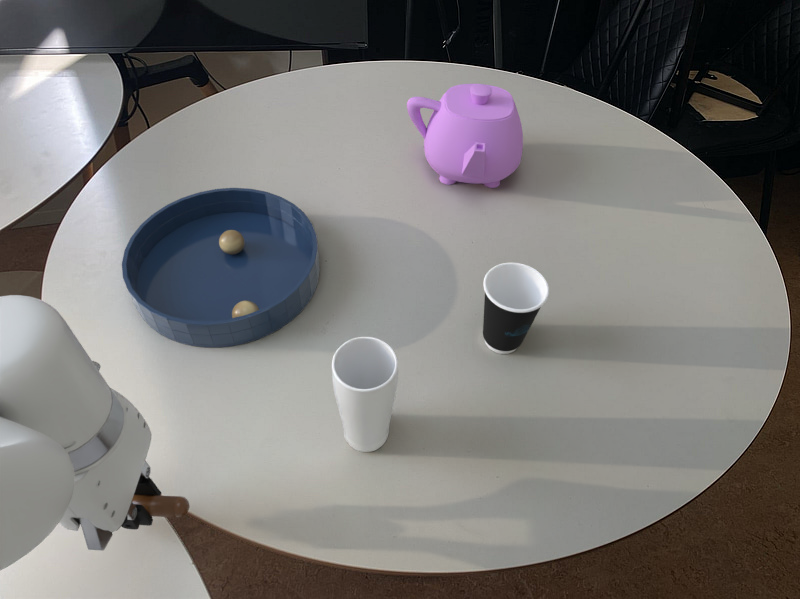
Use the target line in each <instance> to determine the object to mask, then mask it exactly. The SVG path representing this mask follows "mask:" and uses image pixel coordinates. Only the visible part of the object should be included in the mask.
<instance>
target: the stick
mask: <svg viewBox="0 0 800 599" xmlns="http://www.w3.org/2000/svg"><path fill="white" fill-rule="evenodd" d="M132 502H133V503H134V504H139V505H142V506H143V507H144V508H145V509H146V510H147V511H148V513H149V514H150V516H152V518H153V517H156V518H157V517H159V518H182V517H184V516H186V515H187V513H188V512H189V510H190V501H189V500H188V498H186V497H185V496H181V495H161V496H156V495H134V496H133V499H132Z"/></svg>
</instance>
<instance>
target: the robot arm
mask: <svg viewBox="0 0 800 599" xmlns="http://www.w3.org/2000/svg"><path fill="white" fill-rule="evenodd" d="M101 367H102V366H101V364H100V363H99V362H97V361H94V360H92V359H91V357H90V355H89V354H88V352H87V351H86V350H85V348H84V346H83V344H82V343H81V342H80V341H79V339H78V337H77V336H76V335H75V333H74V331H73V330H72V328H71V327H70V325H69V324H68V323H67V321H66V320H65V319H64V317H63V316H62V315H61V313H60V312H59V311H58V310H57V309H56V308H55V307H54V306H52V305H51V304H49V303H48V302H46V301H44V300H42V299H40V298H37V297H34V296H28V295H21V294H9V295H1V296H0V571H2V570H4V569H6V568H8V567H10V566H11V565H13V564H15V563H17V562H18V561H19V560H21V559H22V558H24V557H25V556H27V555H28V554H29V553H31V552H32V551H33V550H34V549H36V548H37V547H38V546H40V544H42V543H43V542H44V540H46V539H47V537H49V535H51V534H52V533H53V531H54V529H55V528H56V527H57V526H58V524H59V525H61V526H62V527H63V528H64V529H66V530H69V531H74V532H78V531H79V530H80V527H81V530H82V534H83V537H84V540H85V544H86V547H87V550H88V551H101V552H102V551H104V550H105V549H106V548H107V546H108V544H109V542H110V541H111V539H112V538H113V533H114V532H116V531H118V530H120V528H124V529H127V530H138V529H139V528H140V526H149V527H150V526H152V525H153V521H154V519H153V516H150V514H149V513H148V511H147V510H146V509H145V508H144V507H143V506H142V505H139V504H134V503H133V502H132V499H133V496H134V495H156V496H162V492H161V490H160V488H159V487H158V486H157V485H156V483H155V482H154V481H153V479H152V478H151V477H150V475H151V466H150V465H149V463H148V461H147V457H148V453H149V450H150V447H151V442H152V431H151V429H150V426H149V424H148V422H147V421H146V419H145V417H144V416H143V415H142V413H141V412H140V411H139V410H138V408H137V407H136V406H135V405H134V404H133V403H132V402H131V401H130V400H129V399H128V398H127V397H125V396H124V395H123V394H121V393H120V392H118V391H117V390H115V389H114V388H112V387H110V385H109V384H108V382H107V381H106V380H105V378H104V377H103V375H102V374H101V372H100V369H101Z"/></svg>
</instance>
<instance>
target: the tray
mask: <svg viewBox="0 0 800 599" xmlns="http://www.w3.org/2000/svg"><path fill="white" fill-rule="evenodd" d="M227 230H236V231H238V232H239V233H241V234H242V236H243V237H244V241H245V244H244V248H243V249H242V251H241V252H239V253H237V254H234V255H230V254H227V253H225V252H224V251H223V250H222V249H221V248H220V245H219V239H220V236H221V235H222V234H223V233H224V232H225V231H227ZM319 256H320V255H319V245H318V236H317V233H316V230H315V228H314V225H313V223H312V222H311V220H310V219H309V217H308V215H307V214H306V213H305V212H304V211H303V210H302V209H300V208H299V207H298V206H297V205H296V204H294V203H293V202H291V201H289V200H288V199H286V198H284V197H282V196H280V195H278V194H274V193H271V192H268V191H264V190H260V189H255V188H248V187H247V188H246V187H245V188H244V187H242V188H241V187H225V188H224V187H223V188H213V189H209V190H203V191H199V192H195V193H193V194H189V195H186V196H184V197H180V198H179V199H177V200H174V201H172V202H169V203H168V204H166V205H164V206H163V207H161V208H159V209H158V210H156V211H155V212H154V213H153V214H151V215H150V216H148V218H146V219H145V220H144V221H143V222H142V223H141V224H140V225H139V226H138V228H137V229H136V230H135V231H134V233H133V234H132V235H131V237H130V238H129V240H128V242H127V244H126V246H125V249H124V250H123V256H122V261H121V271H122V279H123V282H124V285H125V286H126V289H127V292H128V293H129V295H130V297H131V300H132V301H133V304H134V306H135V308H136V310H137V312H138V314H139V315H140V316H141V318H142V320H144V322H145V323H146V324H147V325H148V326H149V327H150V328H151V329H153V330H154V331H155V332H157V333H158V335H160V336H163V337H165V338H167V339H169V340H171V341H174V342H176V343H178V344H179V343H180V344H182V345H186V346H191V347H199V348H227V347H234V346H239V345H245V344H248V343H251V342H254V341H257V340H260V339H262V338H265V337H267V336H269V335H271V334H273V333H275V332H276V331H279V330H281V329H282V328H283V327H285V326H286V325H288V324H289V323H291V322H292V321H293V320H294V319H295V318H297V316H298V315H299V314H301V313H302V311H303V310H304V309H305V308H306V307H307V305H308V304H309V302H310V301H311V299H312V298H313V297H314V294H315V292H316V289H317V287H318V284H319V279H320V271H321V270H320V269H321V268H320V267H321V266H320V257H319ZM241 301H251V302H253V303H255V304H256V305H257V306H258V308H259V310H257V311H255V312H252V313H250V314H248V315H244V316H239V317H235V318H232V310H233V308H234V306H235V305H236V304H237V303H239V302H241Z"/></svg>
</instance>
